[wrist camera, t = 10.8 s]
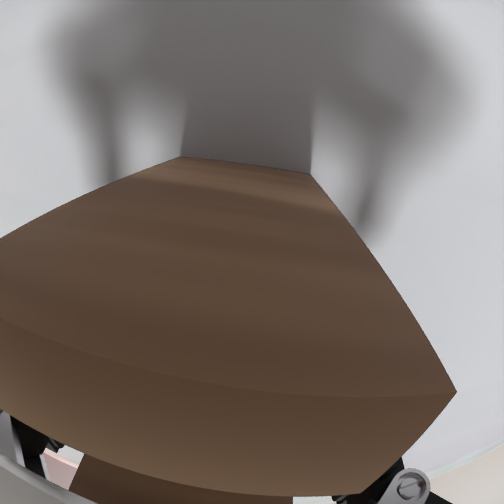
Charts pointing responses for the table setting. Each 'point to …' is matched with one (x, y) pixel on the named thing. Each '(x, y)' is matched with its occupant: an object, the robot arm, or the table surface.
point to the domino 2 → (150, 488)
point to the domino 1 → (214, 334)
